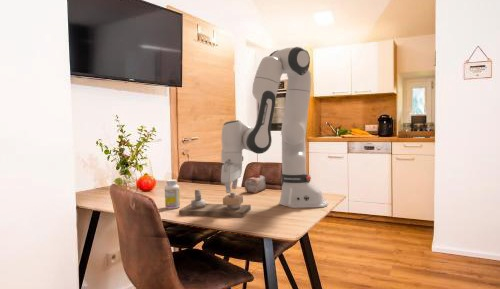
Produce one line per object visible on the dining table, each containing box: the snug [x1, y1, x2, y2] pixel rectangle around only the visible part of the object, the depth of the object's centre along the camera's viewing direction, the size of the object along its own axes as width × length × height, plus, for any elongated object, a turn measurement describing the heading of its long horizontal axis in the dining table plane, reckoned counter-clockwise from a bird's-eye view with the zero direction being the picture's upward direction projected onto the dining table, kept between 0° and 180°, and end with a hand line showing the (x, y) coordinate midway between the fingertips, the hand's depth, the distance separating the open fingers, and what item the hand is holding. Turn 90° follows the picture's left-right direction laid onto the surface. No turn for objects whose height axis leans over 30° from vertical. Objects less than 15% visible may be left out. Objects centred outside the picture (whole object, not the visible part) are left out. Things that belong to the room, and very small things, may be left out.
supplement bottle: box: [164, 178, 181, 210], centre depth 167 cm, size 7×7×13 cm
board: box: [178, 189, 252, 218], centre depth 156 cm, size 28×14×10 cm, turn 77°
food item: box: [244, 173, 266, 194], centre depth 203 cm, size 14×8×10 cm, turn 154°
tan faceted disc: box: [222, 194, 244, 206], centre depth 154 cm, size 7×7×3 cm
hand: (231, 190), depth 153 cm, fingers open, 8 cm apart
